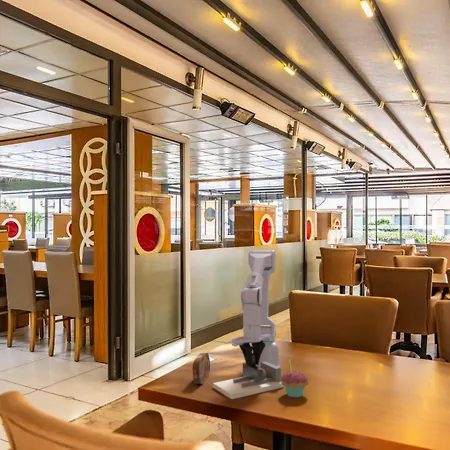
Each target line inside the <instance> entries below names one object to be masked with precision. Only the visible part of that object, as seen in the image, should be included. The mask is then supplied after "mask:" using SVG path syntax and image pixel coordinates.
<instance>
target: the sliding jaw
mask: <svg viewBox="0 0 450 450" xmlns="http://www.w3.org/2000/svg"><path fill="white" fill-rule="evenodd" d="M242 375H243V377H245V376H246V377H248V378H250V379H252V380H254V381H256V382H262V381H263V369H261V368H259V367H257V366H256V354H255V353H253V352H252V356H251V366H247V365H246V362H245V361H244V362H242Z"/></svg>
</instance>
